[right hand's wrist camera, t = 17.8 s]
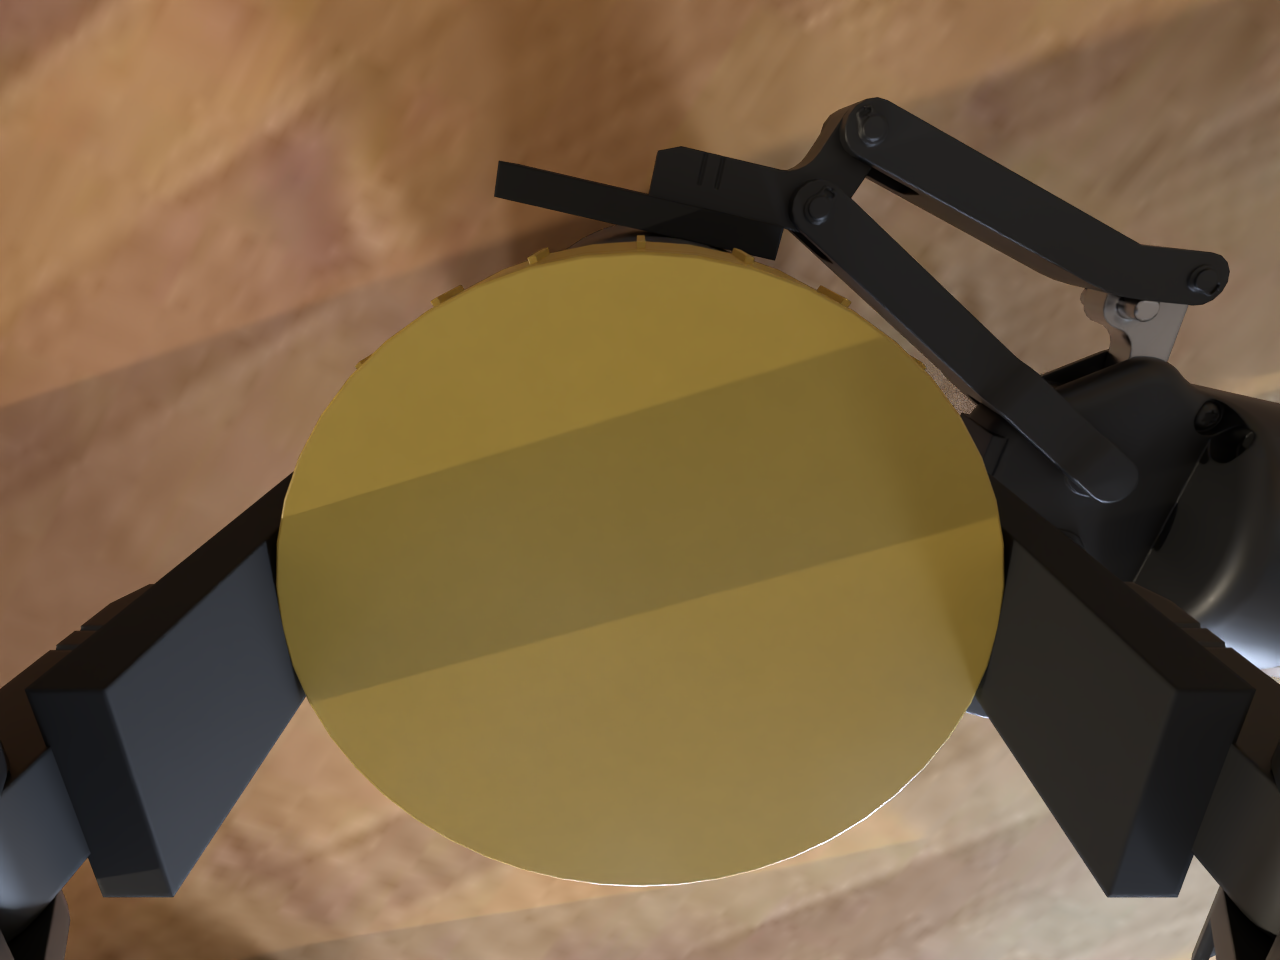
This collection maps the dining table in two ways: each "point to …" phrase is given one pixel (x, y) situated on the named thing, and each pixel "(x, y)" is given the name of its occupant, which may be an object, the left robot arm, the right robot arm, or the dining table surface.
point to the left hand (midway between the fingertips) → (480, 376)
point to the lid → (640, 566)
